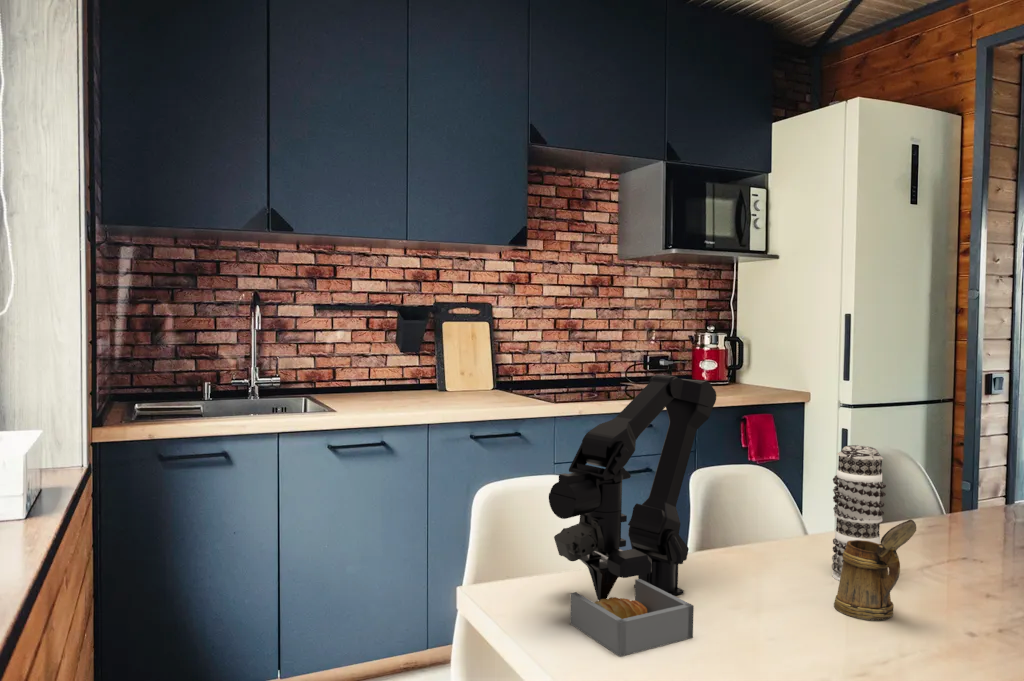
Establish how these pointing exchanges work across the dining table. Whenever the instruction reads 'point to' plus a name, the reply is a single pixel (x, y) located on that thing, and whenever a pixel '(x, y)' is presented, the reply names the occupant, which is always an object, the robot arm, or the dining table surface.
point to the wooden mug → (871, 574)
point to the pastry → (622, 607)
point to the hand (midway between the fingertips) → (601, 600)
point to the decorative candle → (856, 499)
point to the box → (635, 621)
